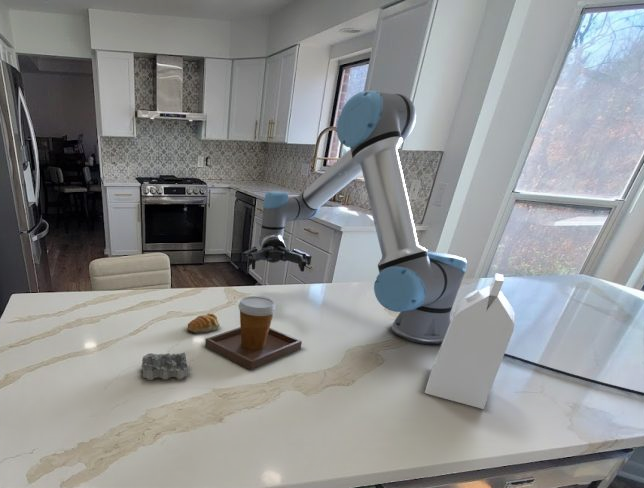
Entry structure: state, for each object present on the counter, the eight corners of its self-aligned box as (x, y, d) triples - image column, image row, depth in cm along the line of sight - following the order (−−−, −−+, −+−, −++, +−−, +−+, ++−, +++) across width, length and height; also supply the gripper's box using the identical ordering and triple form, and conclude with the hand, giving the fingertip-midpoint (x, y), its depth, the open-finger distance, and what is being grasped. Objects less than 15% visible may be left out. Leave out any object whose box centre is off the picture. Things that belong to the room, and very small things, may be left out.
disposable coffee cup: (230, 348, 112) (233, 304, 106) (240, 335, 120) (244, 293, 113) (266, 355, 109) (271, 310, 103) (274, 341, 117) (280, 298, 110)
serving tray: (300, 348, 115) (302, 340, 114) (250, 370, 104) (251, 361, 102) (254, 329, 125) (255, 321, 124) (205, 346, 114) (205, 338, 113)
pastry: (196, 336, 120) (196, 323, 118) (181, 329, 124) (181, 316, 122) (221, 328, 125) (222, 316, 123) (206, 321, 129) (206, 309, 127)
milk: (483, 409, 91) (536, 290, 78) (424, 393, 96) (464, 279, 83) (484, 385, 100) (532, 275, 87) (430, 371, 105) (468, 266, 92)
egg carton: (141, 380, 98) (140, 365, 96) (142, 365, 104) (142, 350, 102) (187, 380, 99) (188, 364, 96) (186, 364, 105) (186, 349, 103)
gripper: (310, 261, 138) (321, 280, 120) (233, 258, 140) (232, 276, 122) (314, 237, 135) (326, 253, 116) (235, 234, 136) (234, 249, 118)
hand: (278, 265), depth 119 cm, fingers open, 13 cm apart
